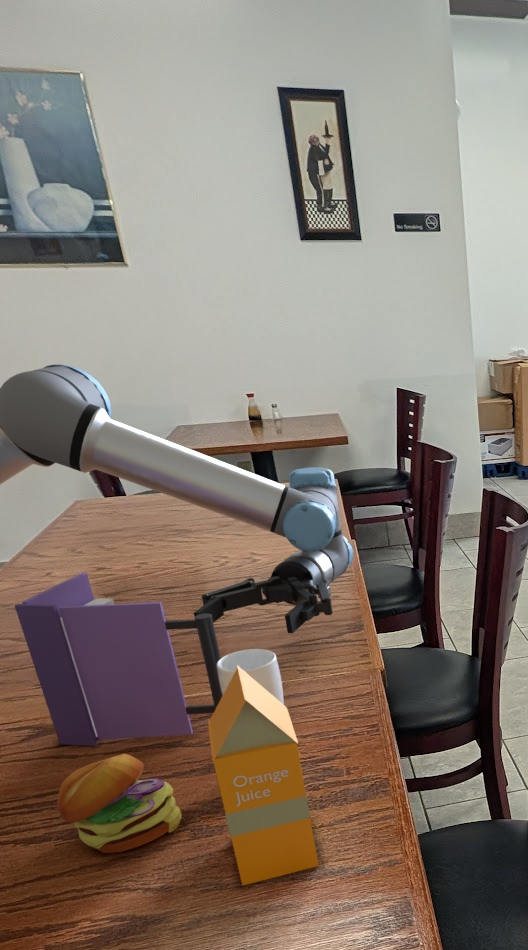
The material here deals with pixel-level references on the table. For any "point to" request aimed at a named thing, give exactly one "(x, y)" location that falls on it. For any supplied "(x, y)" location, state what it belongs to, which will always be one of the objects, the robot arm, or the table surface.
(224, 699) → the orange juice
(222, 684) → the drinking glass
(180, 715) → the folder cover
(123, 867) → the table surface
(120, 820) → the cheeseburger
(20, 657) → the table surface
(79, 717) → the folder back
